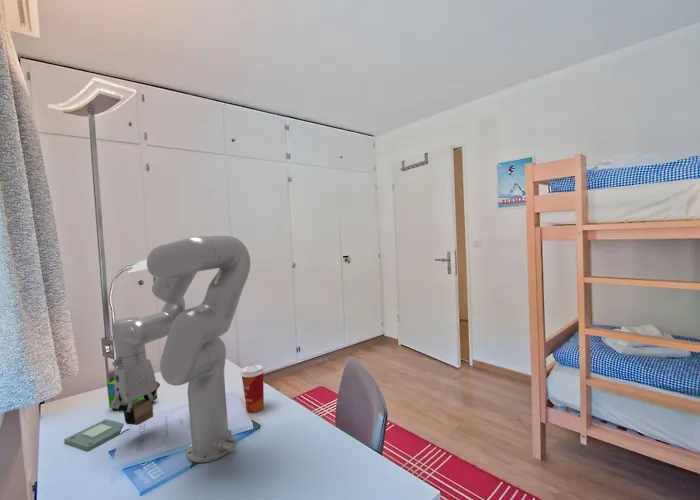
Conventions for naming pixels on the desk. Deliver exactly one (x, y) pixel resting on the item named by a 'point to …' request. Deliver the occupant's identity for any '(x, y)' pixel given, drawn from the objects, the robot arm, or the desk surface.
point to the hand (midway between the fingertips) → (139, 418)
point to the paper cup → (253, 388)
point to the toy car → (112, 394)
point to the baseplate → (95, 435)
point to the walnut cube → (142, 411)
